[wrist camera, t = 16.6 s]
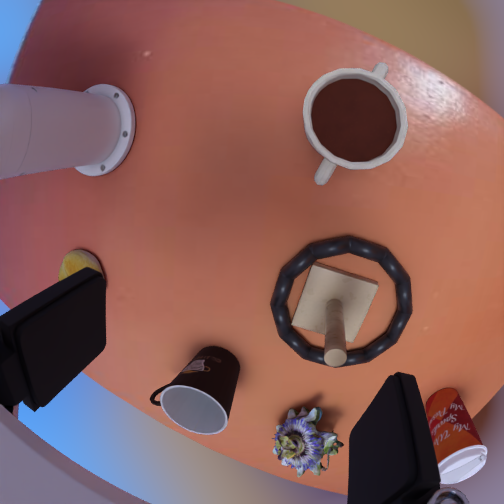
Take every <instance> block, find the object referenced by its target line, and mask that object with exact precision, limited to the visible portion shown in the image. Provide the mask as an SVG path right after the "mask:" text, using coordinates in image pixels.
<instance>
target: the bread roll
mask: <svg viewBox="0 0 504 504" xmlns="http://www.w3.org/2000/svg"><path fill="white" fill-rule="evenodd" d="M85 267H90V268H92V269H94V270H96V271H99V272H101V273H102V274H103V272H102V270H101V267H100V264H99V262H98V260H97V259H96V258H95V257H94V256H93V255H92V254H90V253H89V252H87V251H84V250H74V251H71V252H69V253H67V254H66V256H65V257H64V260H63V263H62V265H61V267H60V270H59V277H58V278H59V281H61V280H63V279H65V278H66V277H68V276H70V275H72V274H74V273H75V272H77V271H79V270H81V269H83V268H85ZM103 278H104V275H103Z"/></svg>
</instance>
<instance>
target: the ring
mask: <svg viewBox="0 0 504 504" xmlns="http://www.w3.org/2000/svg"><path fill="white" fill-rule="evenodd" d="M346 253H351V254H354V255H357V256H360V257H363V258H366V259H369V260H372V261H375V262H378V263H379V264H380V265H381V267H382V268H383V269H384V270H385V271H386V273H387V274H388V275H389V276H390V277H391V279H392V280H393V281H394V282H395V284H396V293H397V304H398V310H397V313H396V315H395V317H394V319H393V321H392V323H391V325H390V327H389V329H388V331H387V333H386V334H384V335H383V336H382V337H380V338H379V339H378V340H376V341H375V342H373V343H372V344H371V345H369V346H368V347H366V348H365V349H362V350H356V351H351V352H347V359H346V361H345V363H344V364H343V365H341V366H338V367H344V366H350V365H356V364H362V363H367V362H370V361H371V360H373V359H374V358H376V357H377V356H379V355H380V354H382V353H383V352H384V351H386V350H387V349H389V348H390V347H391V346H393V345H394V344H396V343H397V341H398V339H399V338H400V336H401V334H402V332H403V330H404V328H405V326H406V324H407V322H408V320H409V318H410V316H411V314H412V311H413V309H412V294H411V282H410V276H409V275H408V274H407V272H406V271H405V270H404V268H403V267H402V266H401V265H400V263H399V262H398V261H397V260H396V258H395V257H394V256H393V255H392V253H391V252H390V251H389V250H388V249H387V248H385V247H383V246H380V245H377V244H374V243H371V242H368V241H365V240H362V239H359V238H356V237H353V236H345V237H340V238H336V239H331V240H326V241H321V242H317V243H312V244H309V245H308V246H307V247H306V248H305V249H304V250H303V251H301V252H300V253H299V254H298V255H297V256H296V257H295V258H293V259H292V260H291V261H290V262H289V263H288V264H287V265H285V266H284V267H283V268H282V269H281V271H280V273H279V277H278V280H277V283H276V286H275V290H274V293H273V296H272V299H271V303H270V306H271V310H272V313H273V317H274V320H275V324H276V327H277V331H278V334H279V337H280V338H281V339H282V340H283V341H284V342H286V343H287V344H288V345H289V346H290V347H291V348H292V349H293V350H294V351H295V352H296V353H297V354H298V355H299V356H300V357H302V358H303V359H305V360H309V361H312V362H316V363H319V364H323V365H326V366H329V365H327V364H326V362H325V361H324V350H321V349H318V348H314V347H311V346H310V345H309V344H308V343H307V342H306V341H305V340H303V339H302V338H301V337H300V336H299V335H298V334H297V333H296V332H295V331H294V330H293V329H292V326H291V322H290V318H289V314H288V310H287V306H286V303H287V300H288V297H289V294H290V291H291V288H292V285H293V282H294V279H295V278H296V277H297V276H299V275H300V274H301V273H302V272H303V271H304V270H306V269H307V268H308V267H309V266H310V265H312V264H313V263H314V262H315V261H316V260H317V259H322V258H327V257H332V256H336V255H341V254H346ZM330 367H332V366H330ZM338 367H334V368H338Z"/></svg>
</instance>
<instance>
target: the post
mask: <svg viewBox="0 0 504 504" xmlns="http://www.w3.org/2000/svg"><path fill="white" fill-rule="evenodd" d="M378 287H379V285H378V282H376V281H373V280H370V279H367V278H364V277H361V276H358V275H354V274H351V273H348V272H345V271H342V270H339V269H335V268H332V267H329V266H326V265H323V264H320V263H316V262H314V263H313V264H312V265H311V268H310V271H309V274H308V277H307V280H306V282H305V285H304V288H303V291H302V294H301V297H300V300H299V302H298V305H297V308H296V311H295V313H294V316H293V319H292V323H291V325H294V326H297V327H300V328H304V329H307V330H310V331H314V332H317V333H320V334H324V335H325V349H324V361H325V362H326V364H327V365H329V366H332V367H338V366H341V365H343V364H344V363H345V361H346V359H347V351H346V341H348V342H352V343H353V341H354V339H355V337H356V335H357V333H358V331H359V329H360V327H361V325H362V323H363V321H364V318H365V316H366V314H367V312H368V310H369V307H370V305H371V303H372V301H373V298H374V296H375V294H376V291H377V289H378Z"/></svg>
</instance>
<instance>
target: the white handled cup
mask: <svg viewBox="0 0 504 504" xmlns="http://www.w3.org/2000/svg"><path fill="white" fill-rule="evenodd" d="M387 73H388V66H387V65H386V63H382V62H379V63H378V64H376V65H375V67H374V69H373V70H372V72H369V71H367V70H364V69H361V68H342V69H338V70H335V71H332V72H330V73H327V74H325V75H323V76H322V77H321V78H319V79H318V80H317V81H316V82H315V83H314V84H313V85H312V86H311V88H310V89H309V90H308V93H307V95H306V98H305V101H304V107H303V119H304V129H305V133H306V136H307V139H308V141H309V142H310V144H311V145H312V146H313V148H314V149H315V150H316V151H317V152H318V153H319V154H321V155H322V156H323V157H324V159H323V161H322V163H321V164H320V166H319V168H318V170H317V171H316V173H315V176H314V181H315V182H316V183H317V185H324V184H325V183H327V182H328V180H329V179H330V177H331V175H332V173H333V172H334V170H335V168H336V166H337V165H339V166H342V167H344V168H347V169H350V170H358V169H372V168H374V167H377V166H379V165H381V164H383V163H386V162H388V161H390V160H391V159H392V158H393V156H394V155H395V154H396V153H397V152H398V151H399V150H400V148H401V147H402V146H403V143H404V140H405V136H406V133H407V129H408V123H407V115H406V108H405V105H404V103H403V102H402V100H401V98H400V96H399V94H398V92H397V91H396V89H395V88H394V87H393V86H392V85H391V84H389V83H388V82H387V81H386V80H385V77H386V75H387Z"/></svg>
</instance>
